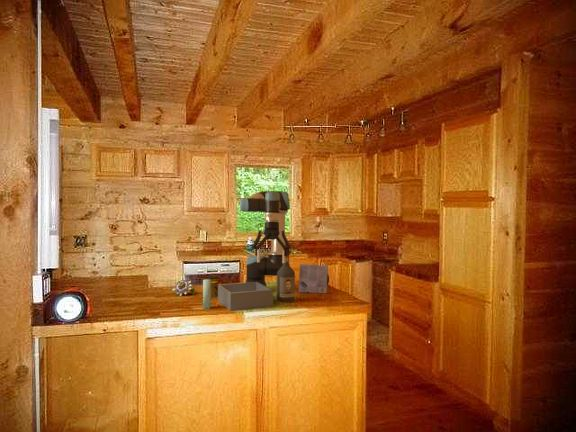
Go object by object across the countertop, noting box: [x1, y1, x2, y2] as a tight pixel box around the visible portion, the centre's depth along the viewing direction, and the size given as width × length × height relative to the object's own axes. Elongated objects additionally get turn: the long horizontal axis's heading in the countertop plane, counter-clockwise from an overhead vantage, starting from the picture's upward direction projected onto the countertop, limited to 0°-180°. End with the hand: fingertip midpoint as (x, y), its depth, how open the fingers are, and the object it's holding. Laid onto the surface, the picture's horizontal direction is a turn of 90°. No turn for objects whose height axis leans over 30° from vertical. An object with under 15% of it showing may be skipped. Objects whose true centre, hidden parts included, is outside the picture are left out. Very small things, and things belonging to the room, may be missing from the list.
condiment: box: [208, 275, 219, 299], centre depth 236 cm, size 7×8×12 cm
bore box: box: [217, 282, 274, 312], centre depth 221 cm, size 24×24×9 cm
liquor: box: [276, 249, 296, 303], centre depth 228 cm, size 9×9×30 cm
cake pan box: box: [298, 263, 330, 294], centre depth 252 cm, size 19×5×18 cm, turn 84°
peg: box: [202, 278, 212, 310], centre depth 210 cm, size 4×4×15 cm
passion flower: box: [171, 277, 196, 297], centre depth 240 cm, size 11×11×12 cm
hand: (271, 262), depth 203 cm, fingers open, 13 cm apart
